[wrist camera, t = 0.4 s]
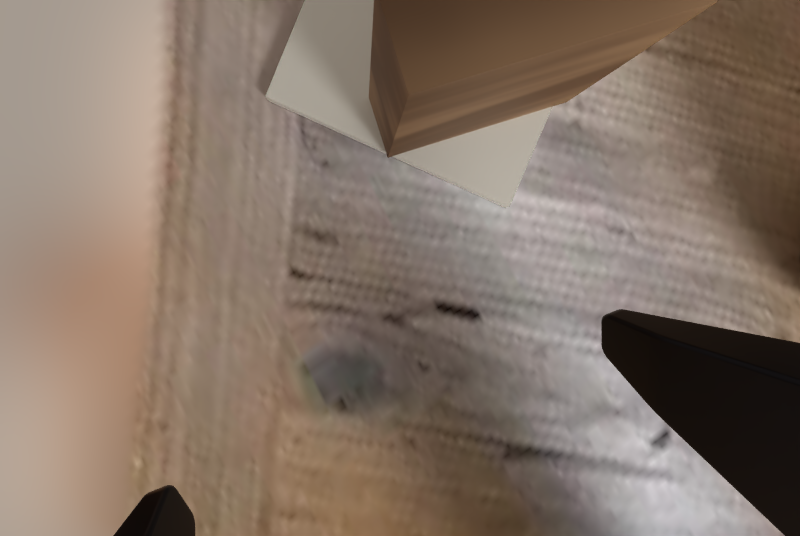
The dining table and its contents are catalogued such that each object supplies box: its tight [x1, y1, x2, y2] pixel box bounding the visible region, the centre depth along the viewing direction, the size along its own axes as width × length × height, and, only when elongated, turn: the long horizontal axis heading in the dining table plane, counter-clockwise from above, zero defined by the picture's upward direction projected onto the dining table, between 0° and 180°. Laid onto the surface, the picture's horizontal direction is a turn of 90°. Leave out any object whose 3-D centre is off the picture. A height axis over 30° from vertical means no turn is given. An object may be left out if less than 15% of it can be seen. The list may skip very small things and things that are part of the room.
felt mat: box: [265, 0, 553, 208], centre depth 21 cm, size 13×14×1 cm
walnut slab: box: [369, 0, 718, 157], centre depth 16 cm, size 3×10×9 cm, turn 107°
